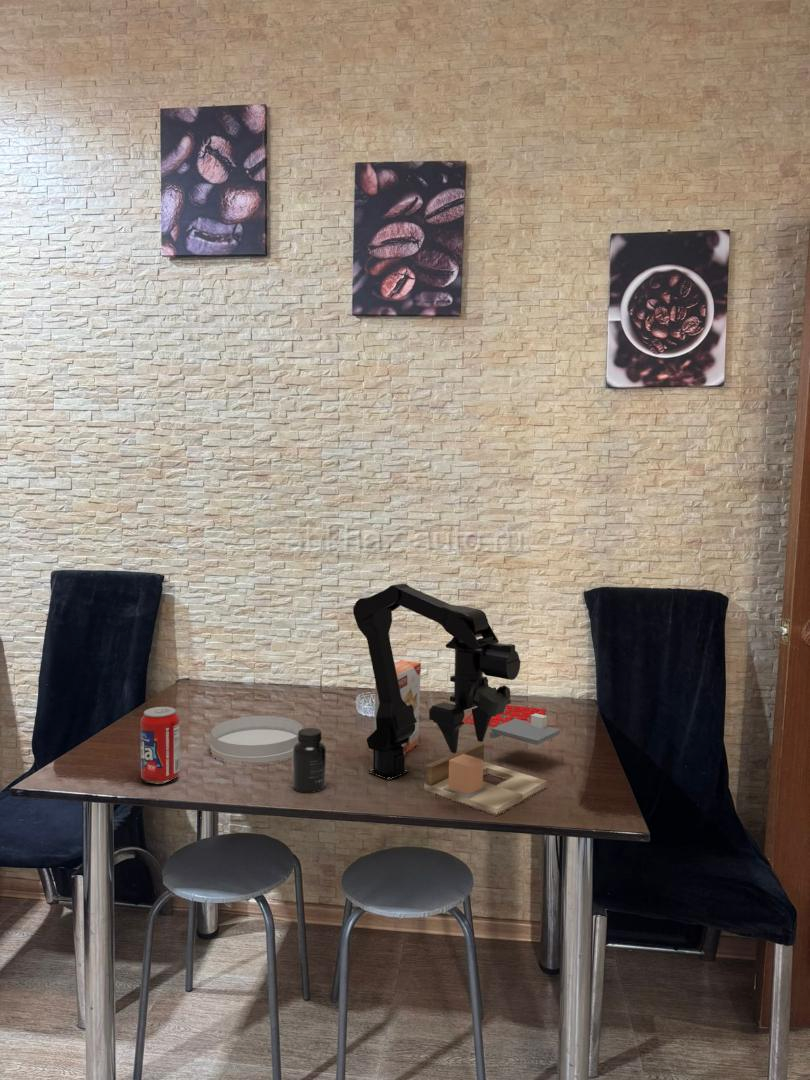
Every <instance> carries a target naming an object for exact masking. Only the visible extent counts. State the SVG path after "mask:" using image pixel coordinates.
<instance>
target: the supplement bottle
mask: <svg viewBox="0 0 810 1080" xmlns="http://www.w3.org/2000/svg"><path fill="white" fill-rule="evenodd" d="M298 741H299V742H298V743H297V744H296V745H295V746H294V748H293V758H292V761H293V762H292V786H293V788H294V790H296V791H297V790H298V791H297V792H300V791H302V792H301V793H304V792H312V793H314V792H313V791H317V792H319V791H318V790H320V791H321V789H322V788H323V789H324V788H325V786H326V766H327V765H326V764H327V762H326V761H327V755H326V754H327V750H326V745H325V744H324V742H322V731H321V730H320V728H315V727H307V728H306V727H305V728H304V727H303V729H301V730H300V731H299V732H298ZM323 789H322V790H323Z"/></svg>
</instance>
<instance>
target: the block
mask: <svg viewBox="0 0 810 1080" xmlns="http://www.w3.org/2000/svg"><path fill="white" fill-rule="evenodd" d="M483 780H484V776H483V760H482V759H479V758H476V757H472V756H469V755H466V754H462V755H460V756H457V757H455V758H453V759H451V760H449V787H448V789H451V790H454V791H457V792H459V793H462V794H465V795H470V794H472V793H474V792H476V791H478V790H480V789H482V788H483Z"/></svg>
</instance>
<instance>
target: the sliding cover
mask: <svg viewBox="0 0 810 1080" xmlns="http://www.w3.org/2000/svg"><path fill="white" fill-rule="evenodd" d="M530 716H531V718H530V719H531V723H530V722H527V721H528V720H526V721H523V720H519V719H516V718H513V719H512V720H511V721H509V722H508V721H507V722H506V723H504V724H502V723H501V724H500V725H499V724H498V725H497V726H496V727H492V728H491V731H489V738H491V739H496V738H498V737H501V736H502V737H506V738H509V739H510V738H511V739H514V740H517V741H521V742H526V743H528V744H533V745H537V746H538V745H540V744H542V743H545V742H546V741H548V740H551V739H554V738H555V737H558V736H559V735H560V734H561V730H560V729H558V728H555V727H550V726H547V724H548V723H547V722H548V721H547V720H548V719H547V718H548V716H547V715H545V714H544V715H540V714H536V713H535V714H530Z"/></svg>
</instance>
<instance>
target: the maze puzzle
mask: <svg viewBox="0 0 810 1080" xmlns="http://www.w3.org/2000/svg"><path fill="white" fill-rule="evenodd" d="M506 706H507V707H505V708H506V709H505V711H504V713H502V714H501V713H500V714H498V715H496V716H494V717H491V720H490V722H489V725H488V727H492V728H494V727H497V726H499V724H500V722H501V721H502V722H501V724H504V723H506V722H509V721H511V720H513V719H514V717H516V718H515V719H519V720H523V721H527V722H530V723H531V715H533V714H535V713H536V714H540V715H545V713H546V711H547V709H544V708H536V707H527V706H519V705H510V704H508V705H506ZM512 707H514V708H512ZM521 708H523V709H521ZM512 709H515V710H512ZM530 709H532V710H530ZM540 710H541V712H539V711H540ZM512 711H513V712H512ZM510 712H512V713H510ZM520 713H522V714H520ZM471 714H472V713H471ZM471 714H470V715H471ZM466 715H467V714H466ZM501 715H504V716H505V718H503V716H501ZM467 716H468V715H467ZM471 716H472V715H471ZM508 716H509V717H508ZM465 717H466V716H465ZM465 717H464V721H462V722H466V723H465V724H467V723H470V724H469V725H474V721H473V716H472V717H471V718H470V717H466V718H467V719H469V718H470V719H469V721H468V720H467V719H465ZM528 718H530V719H529V720H528ZM466 720H467V721H466ZM470 721H473V722H470ZM492 723H493V724H492Z"/></svg>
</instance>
